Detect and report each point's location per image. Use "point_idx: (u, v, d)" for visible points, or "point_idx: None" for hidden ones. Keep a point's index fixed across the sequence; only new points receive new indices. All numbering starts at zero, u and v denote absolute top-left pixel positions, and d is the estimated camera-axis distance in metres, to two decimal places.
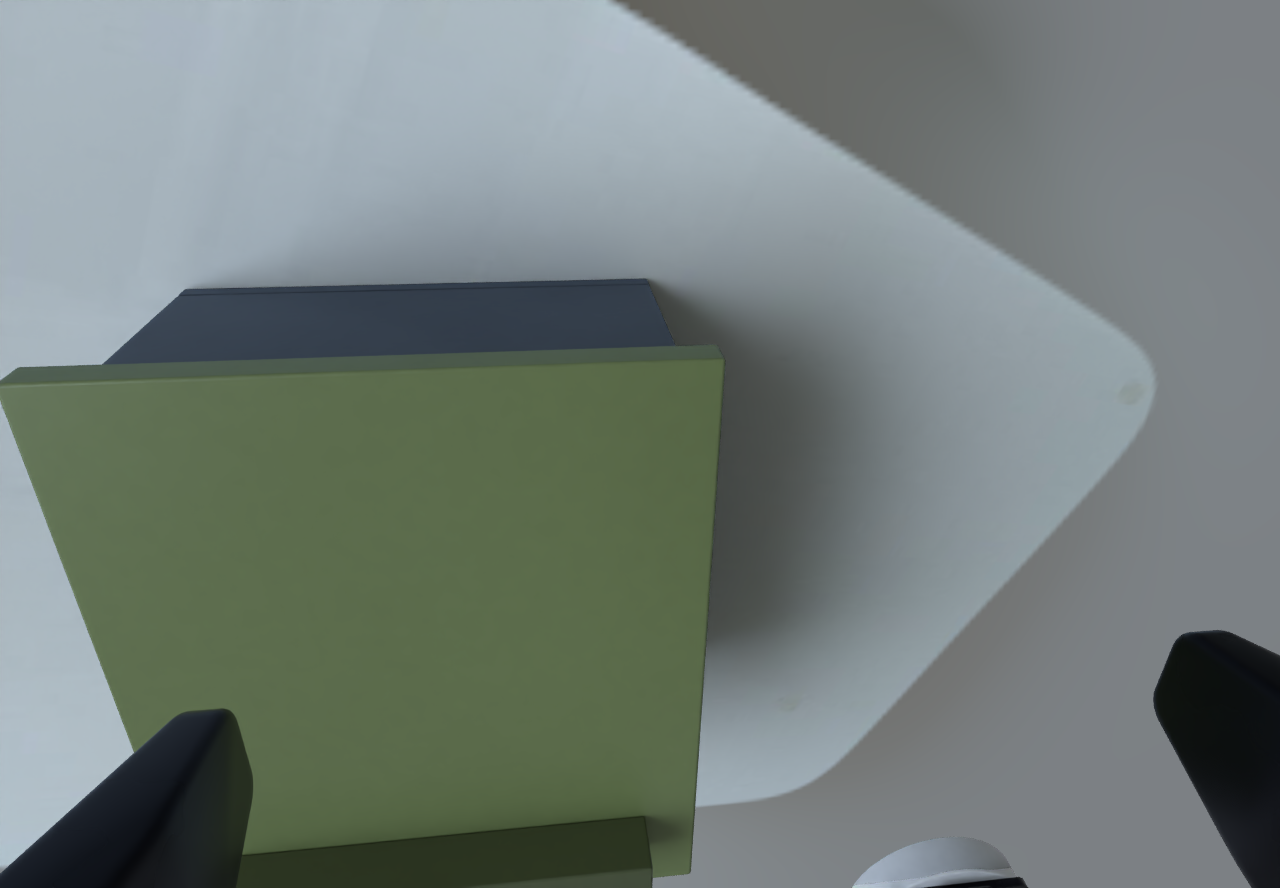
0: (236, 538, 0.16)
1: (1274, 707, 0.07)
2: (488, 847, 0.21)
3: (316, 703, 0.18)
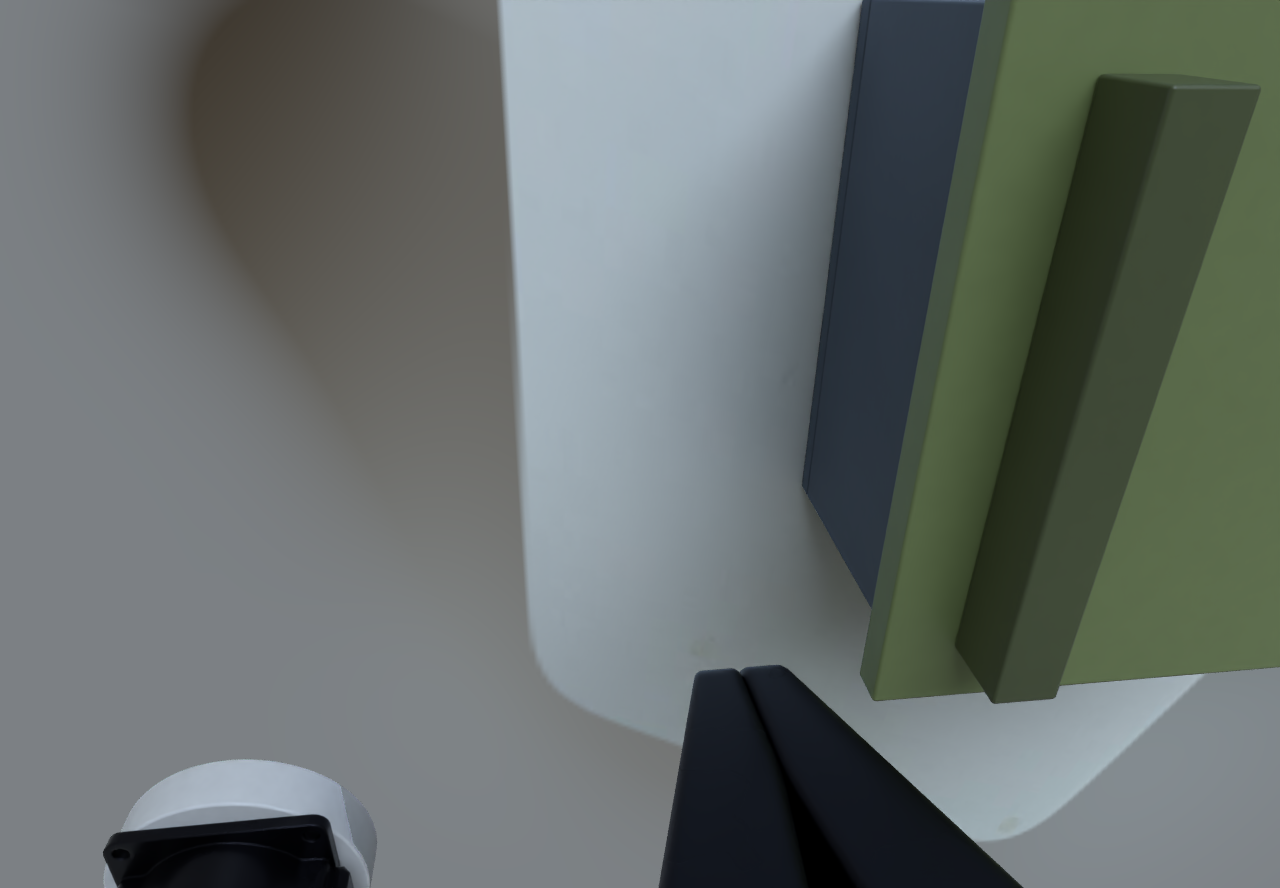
0: None
1: None
2: None
3: None
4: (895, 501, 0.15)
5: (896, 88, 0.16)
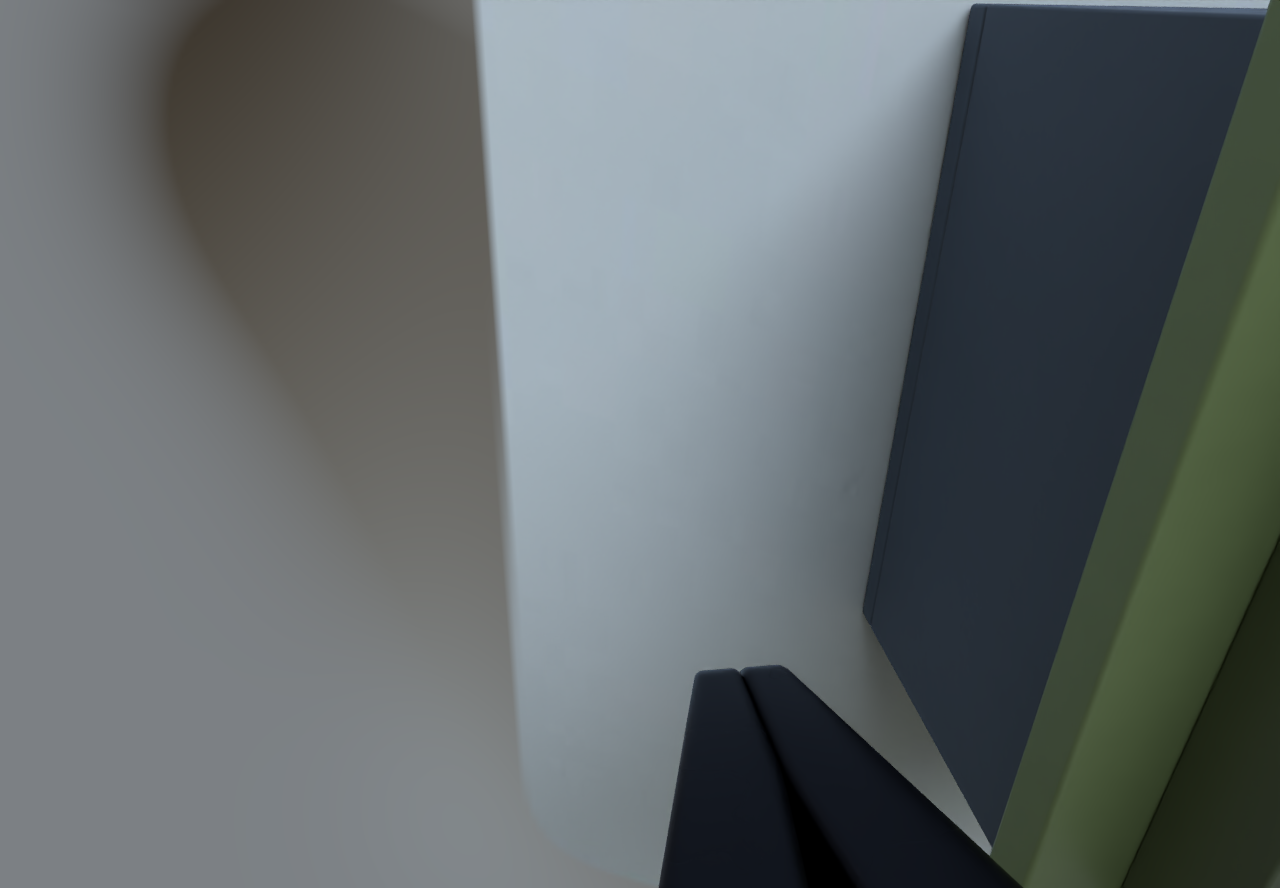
0: None
1: None
2: None
3: None
4: (1040, 725, 0.10)
5: (1032, 131, 0.11)
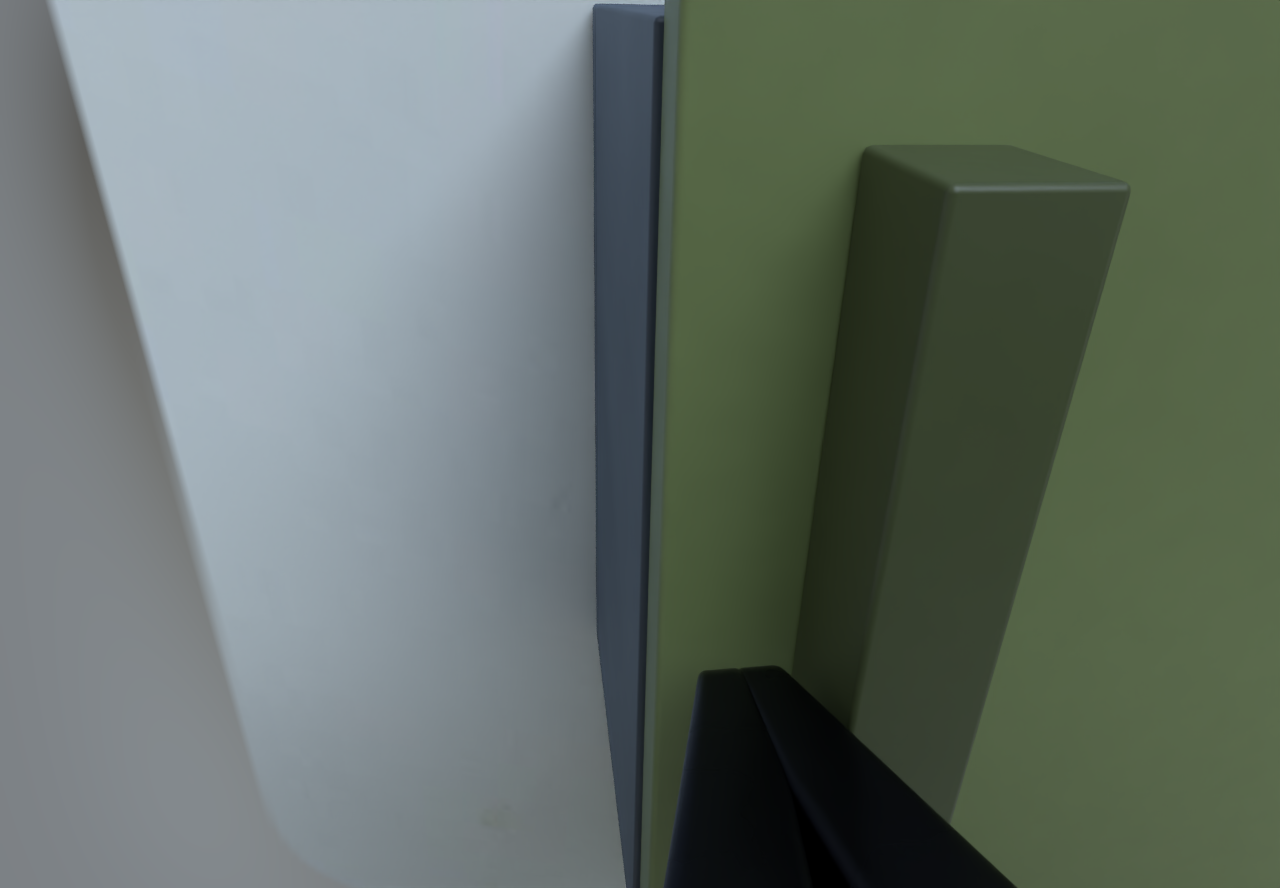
0: None
1: None
2: None
3: None
4: (645, 760, 0.10)
5: (606, 137, 0.11)
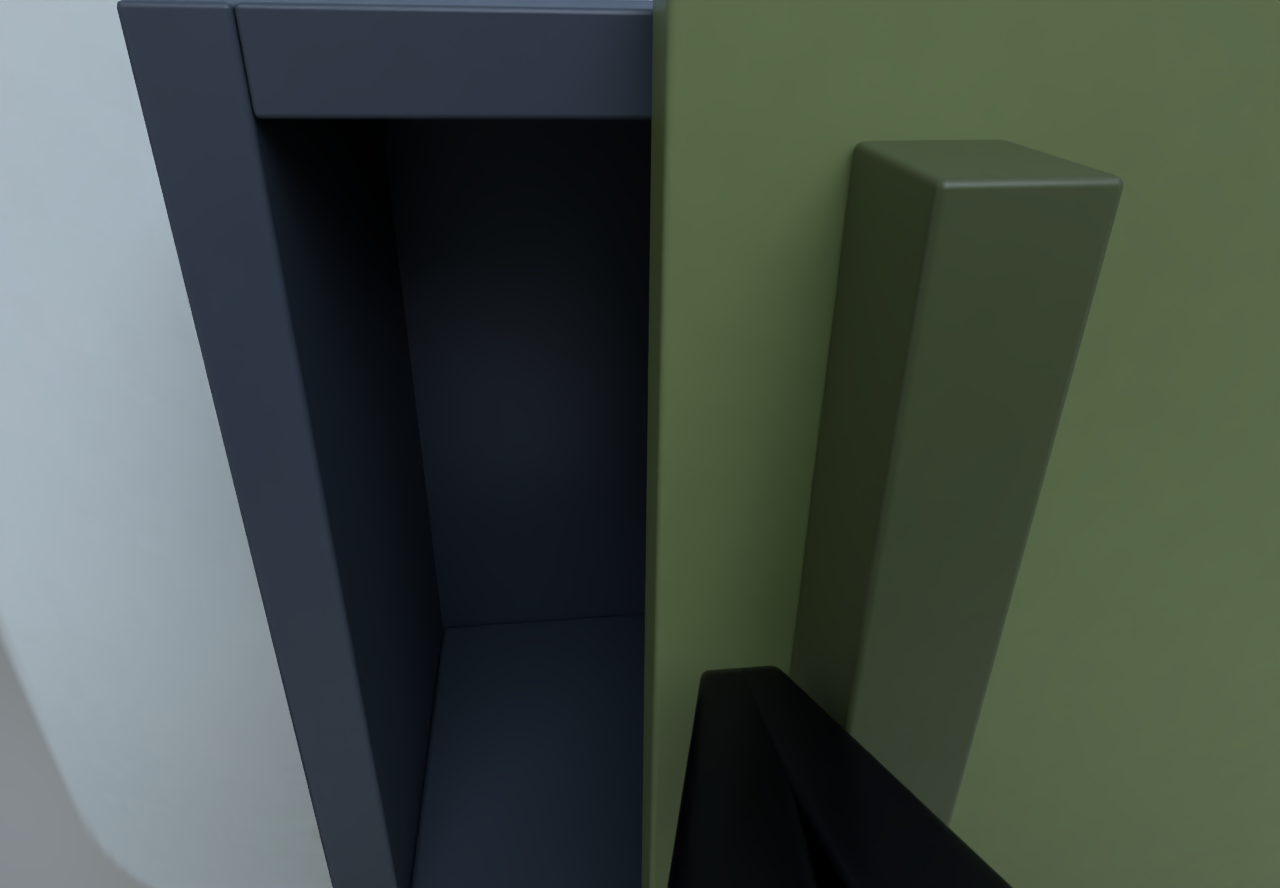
0: None
1: None
2: None
3: None
4: (644, 760, 0.10)
5: None
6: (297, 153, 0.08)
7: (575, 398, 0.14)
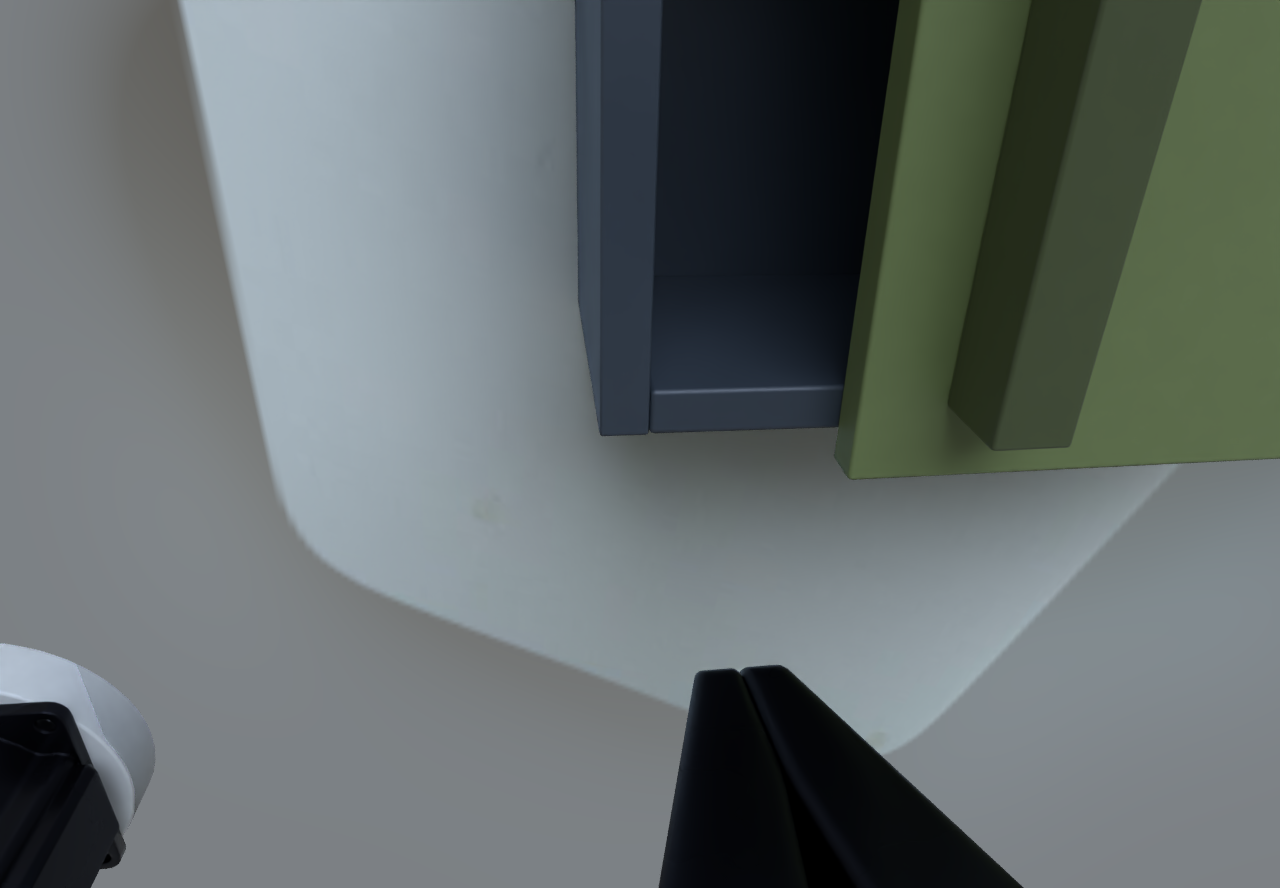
0: None
1: None
2: None
3: None
4: (873, 205, 0.12)
5: None
6: None
7: (752, 38, 0.17)
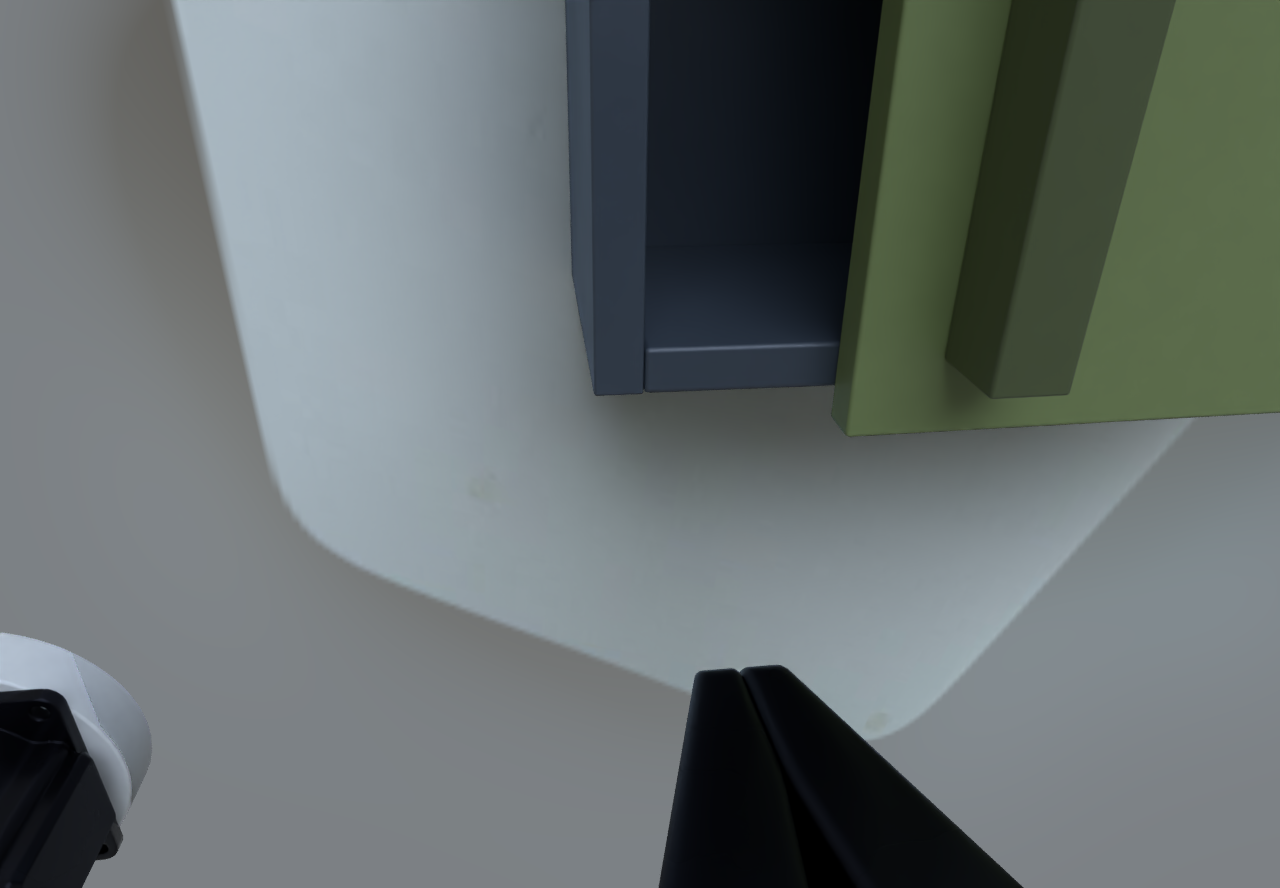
0: None
1: None
2: None
3: None
4: (866, 154, 0.12)
5: None
6: None
7: (743, 2, 0.17)
